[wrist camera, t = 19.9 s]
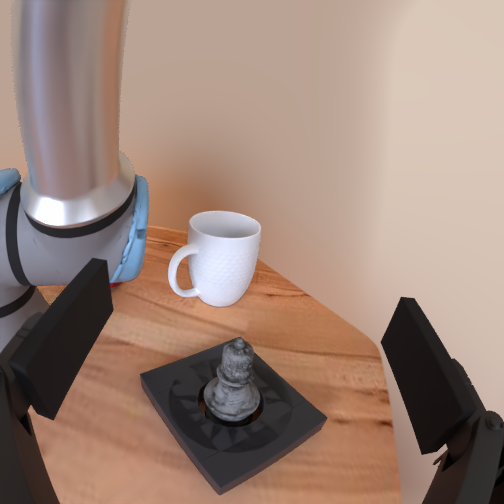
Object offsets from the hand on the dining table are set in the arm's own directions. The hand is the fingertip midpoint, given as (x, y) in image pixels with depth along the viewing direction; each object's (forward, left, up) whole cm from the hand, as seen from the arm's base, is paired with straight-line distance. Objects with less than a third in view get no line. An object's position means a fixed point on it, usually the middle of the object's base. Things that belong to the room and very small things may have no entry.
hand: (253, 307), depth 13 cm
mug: (-27, +17, -23) cm, 39 cm away
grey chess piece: (-7, +6, -23) cm, 25 cm away
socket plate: (-7, +6, -22) cm, 24 cm away
